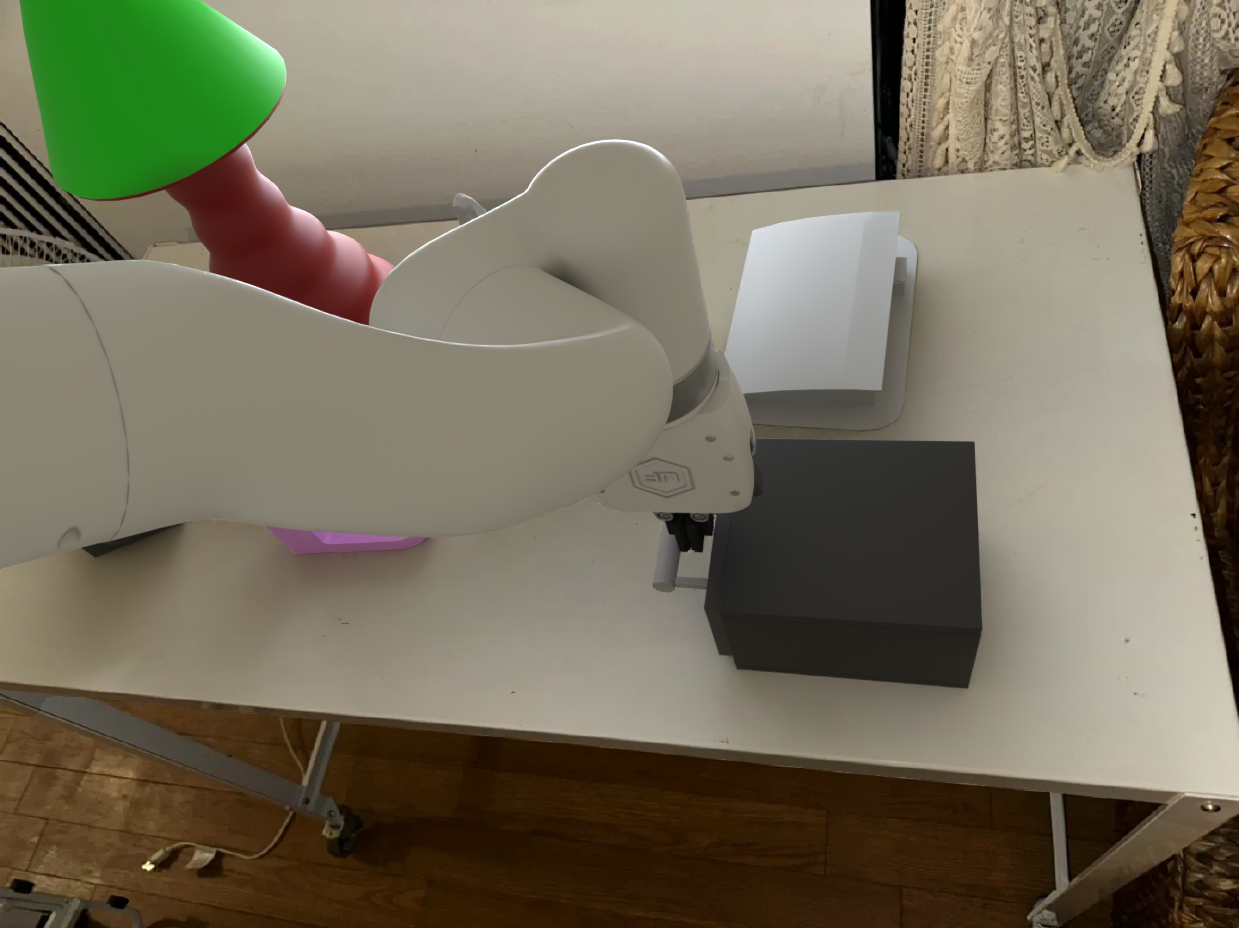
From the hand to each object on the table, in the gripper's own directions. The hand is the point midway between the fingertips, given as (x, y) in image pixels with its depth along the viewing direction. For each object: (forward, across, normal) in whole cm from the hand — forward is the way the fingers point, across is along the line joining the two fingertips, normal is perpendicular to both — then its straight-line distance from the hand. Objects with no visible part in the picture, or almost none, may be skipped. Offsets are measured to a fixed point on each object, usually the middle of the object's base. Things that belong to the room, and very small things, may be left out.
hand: (693, 534), depth 64 cm
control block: (+8, -57, +8) cm, 58 cm away
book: (+7, +8, +26) cm, 28 cm away
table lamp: (+8, -41, +24) cm, 48 cm away
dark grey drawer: (+6, +7, 0) cm, 9 cm away
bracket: (+8, -30, +4) cm, 32 cm away
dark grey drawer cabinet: (+7, +11, 0) cm, 13 cm away
